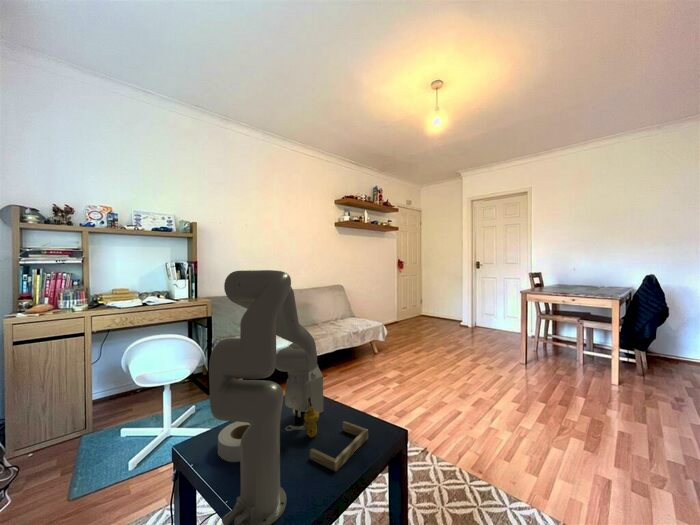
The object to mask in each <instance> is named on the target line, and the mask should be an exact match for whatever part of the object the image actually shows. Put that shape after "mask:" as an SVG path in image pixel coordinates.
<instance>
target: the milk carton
mask: <svg viewBox="0 0 700 525" xmlns="http://www.w3.org/2000/svg"><path fill="white" fill-rule="evenodd" d="M309 380H310V383H311V390H312V406H311V407H314V410H315V411H317V412H319V414H321V413H323V412H324V375H323V373H322V371H321V369H320V367H319V364H318V363H317V365H316V367H315V369H314V370H313V371H311V372H309ZM304 415H305V414H304Z"/></svg>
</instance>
